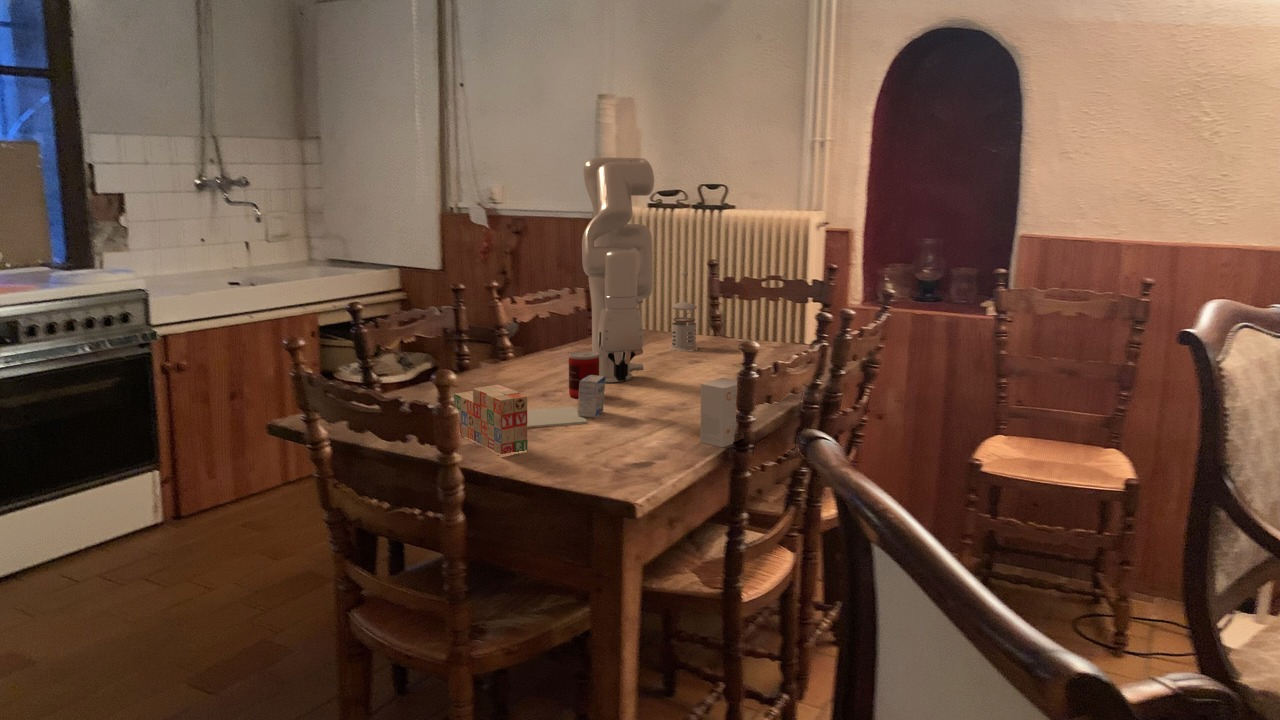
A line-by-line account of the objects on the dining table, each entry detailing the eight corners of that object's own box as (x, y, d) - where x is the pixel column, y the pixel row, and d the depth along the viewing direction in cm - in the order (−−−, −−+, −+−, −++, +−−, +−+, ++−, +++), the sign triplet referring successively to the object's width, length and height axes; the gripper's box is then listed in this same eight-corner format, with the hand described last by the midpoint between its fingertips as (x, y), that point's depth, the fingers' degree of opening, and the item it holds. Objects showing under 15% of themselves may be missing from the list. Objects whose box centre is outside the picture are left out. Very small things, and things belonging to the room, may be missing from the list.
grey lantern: (665, 350, 304) (666, 272, 299) (674, 344, 314) (675, 269, 309) (694, 352, 301) (696, 274, 296) (703, 345, 312) (704, 270, 307)
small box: (720, 434, 209) (722, 377, 206) (744, 440, 205) (746, 381, 202) (699, 442, 202) (700, 383, 200) (723, 448, 198) (724, 387, 196)
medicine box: (595, 418, 220) (598, 382, 218) (576, 416, 220) (579, 379, 219) (603, 411, 227) (606, 376, 226) (585, 409, 228) (588, 374, 227)
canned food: (603, 393, 245) (603, 352, 243) (592, 400, 238) (592, 357, 236) (576, 391, 248) (576, 350, 245) (564, 398, 240) (563, 355, 238)
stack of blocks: (455, 434, 208) (453, 379, 205) (480, 430, 211) (479, 376, 209) (501, 458, 191) (500, 399, 188) (528, 453, 194) (527, 395, 192)
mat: (572, 408, 230) (572, 406, 230) (587, 423, 217) (587, 421, 217) (499, 414, 224) (499, 412, 224) (509, 429, 211) (509, 427, 211)
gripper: (646, 300, 227) (645, 374, 230) (585, 302, 222) (586, 378, 226) (656, 304, 220) (655, 381, 223) (594, 306, 215) (594, 385, 219)
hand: (620, 379), depth 224 cm, fingers closed
